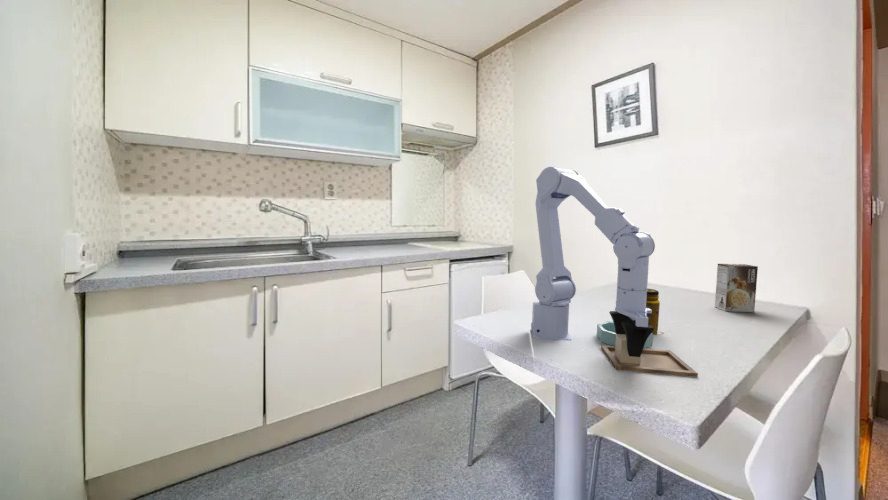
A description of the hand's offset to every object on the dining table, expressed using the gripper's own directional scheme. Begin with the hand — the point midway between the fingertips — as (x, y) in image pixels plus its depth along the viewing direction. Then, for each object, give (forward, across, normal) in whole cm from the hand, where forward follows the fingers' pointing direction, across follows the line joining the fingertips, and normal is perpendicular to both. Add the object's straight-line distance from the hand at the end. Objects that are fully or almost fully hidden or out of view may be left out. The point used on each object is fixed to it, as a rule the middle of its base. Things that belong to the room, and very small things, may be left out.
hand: (628, 349), depth 75 cm
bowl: (+3, +13, -3) cm, 14 cm away
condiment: (+3, +23, -11) cm, 26 cm away
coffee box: (+3, +57, -52) cm, 77 cm away
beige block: (+2, 0, 0) cm, 2 cm away
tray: (+3, 0, -3) cm, 4 cm away
